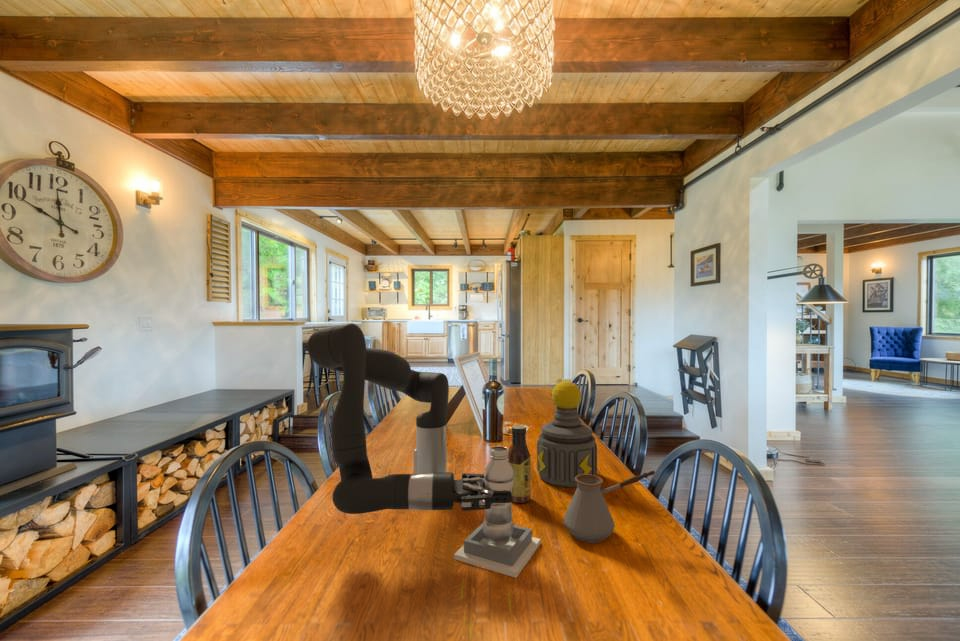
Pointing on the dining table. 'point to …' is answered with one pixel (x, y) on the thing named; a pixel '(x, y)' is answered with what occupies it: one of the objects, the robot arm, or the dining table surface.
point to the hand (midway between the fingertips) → (509, 490)
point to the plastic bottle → (500, 514)
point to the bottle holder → (499, 551)
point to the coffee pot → (593, 508)
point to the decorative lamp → (566, 441)
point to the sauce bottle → (520, 465)
